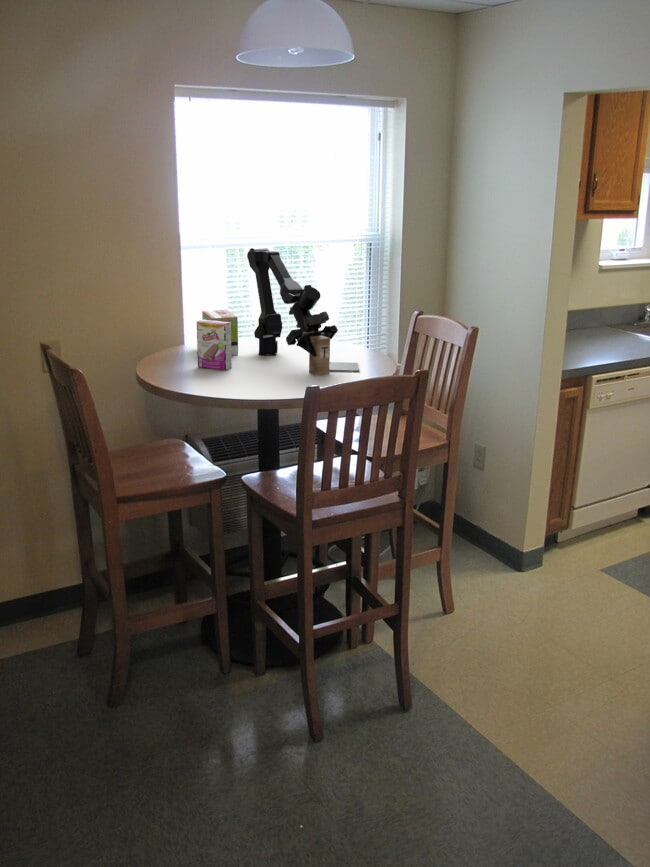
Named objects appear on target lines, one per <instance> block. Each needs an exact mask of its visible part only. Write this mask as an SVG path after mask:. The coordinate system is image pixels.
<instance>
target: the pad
mask: <svg viewBox="0 0 650 867" xmlns="http://www.w3.org/2000/svg"><path fill="white" fill-rule="evenodd" d="M329 372H337V373H338V372H341V373H343V372H344V373H345V372H346V373H359V372H360V367H359V362H346V361H345V362H340V361H332V362H331V361H330V364H329Z"/></svg>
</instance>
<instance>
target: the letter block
mask: <svg viewBox="0 0 650 867" xmlns="http://www.w3.org/2000/svg"><path fill="white" fill-rule="evenodd" d="M310 341H311V343H312V345H313V348H314V350H315V352H316V357H314V356H312V355H311V354H310V353H308V354H309V356H308V357H309V358H308V359H309V360H308V361H309V362H308V373H309V374H312V375H314V376H324V375H329V374H330V371H329V364H330V362H331V360H330V358H331V357H330V356H331V354H330V353H331V339H330V338H328V337H325V336H322V335H321V336H313V337H310Z"/></svg>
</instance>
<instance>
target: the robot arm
mask: <svg viewBox="0 0 650 867" xmlns="http://www.w3.org/2000/svg"><path fill="white" fill-rule="evenodd" d="M246 256H247V257H246V258H247V260H248V264H249V267H250V268H251V270H252V271H253V272H254V274H255V280H256V287H257V288H256V289H257V293H258V299H259V304H260V305H259V306H260V313H259V314H260V315H259V317H258V320H257V321H258V325H257V327H256V328H255V330H254V332H253V334H254V338H255V339H258V355H259V356H276V355H277V353H278V352H279V350H278V348H279V347H278V340H277V338H281V334H282V331H283V321H282V315H281V313H278V312H277V310H275V305H274V299H273V292H272V284H271V280H270V278H271V277H270V273H269V272H270V271H271V273H272V275H273V276H274V277H275V280H276V281H277V283H278V286H279V289H280V290H279V294H280V297H281V299H282V302H283V303H284V304H285V305H292V306H290V308H289V311H288V315H289V316H292V315H293V317H294V319H295V321H296V323H297V324H296V325H295V327H296V329H291V331H289V333H288V335H287V336H286V337H285V341H286V342H285V343H286V344H287V346H294V345H296V347H300V348H301V349H303V350H304V351H305V352H308V354H309V353H310V354H311V355H312V356H314V357H316V352H315V350H314V348H313V345H312V343H311V341H310V337H313V336H321V335H322V336H325V337H328V338H330V340H332V339H333V338H334V336H335V335H336V334H337V333H338V332H339V330H338V328H337V326H336V325H335V324H330V325H329V324H327V325H325V326H324V327H323V329H321V328H322V325H323V324H325V323H327V321H329V320H330V316H329V313H328V312H327V311H321V312H320V313H315V314H312V312H311V310H312V309H313V308H314V307H315V306H316V304H317V303H318V301H319V300H320V298H321V293H320V292H321V291H319V290H318V289H317V288H315V287H312V285H311V284H305V285H304V287H303V288H302V286H301V285H300V284H299V282H297V281H295V280H294V279H293V278H292V276H291V275H290V273H289V271H288V269H287V267H286V266H285V264H284V262H283V260H282V258H281V255H280V252H279V251H278V250H270V249H268V247H251V248H250V249H249V251H248V252H247V255H246ZM269 270H270V271H269ZM319 329H321V330H319Z"/></svg>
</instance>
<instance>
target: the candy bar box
mask: <svg viewBox="0 0 650 867" xmlns="http://www.w3.org/2000/svg"><path fill="white" fill-rule="evenodd" d="M196 340H197V342H196V344H197V345H196V346H197V367H198V368H199V369H200V368H201V369H208V370H217V371H223V372H224V371H225V372H226V371H228V370H230V369H232V368H233V363H232V362H233V360H232V359H233V358H232V357H233V355H231V322H222V321H213V320H204V319H201V320H198V321H196Z"/></svg>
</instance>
